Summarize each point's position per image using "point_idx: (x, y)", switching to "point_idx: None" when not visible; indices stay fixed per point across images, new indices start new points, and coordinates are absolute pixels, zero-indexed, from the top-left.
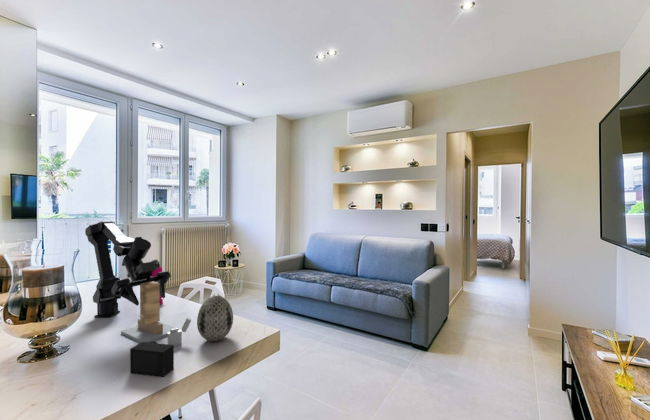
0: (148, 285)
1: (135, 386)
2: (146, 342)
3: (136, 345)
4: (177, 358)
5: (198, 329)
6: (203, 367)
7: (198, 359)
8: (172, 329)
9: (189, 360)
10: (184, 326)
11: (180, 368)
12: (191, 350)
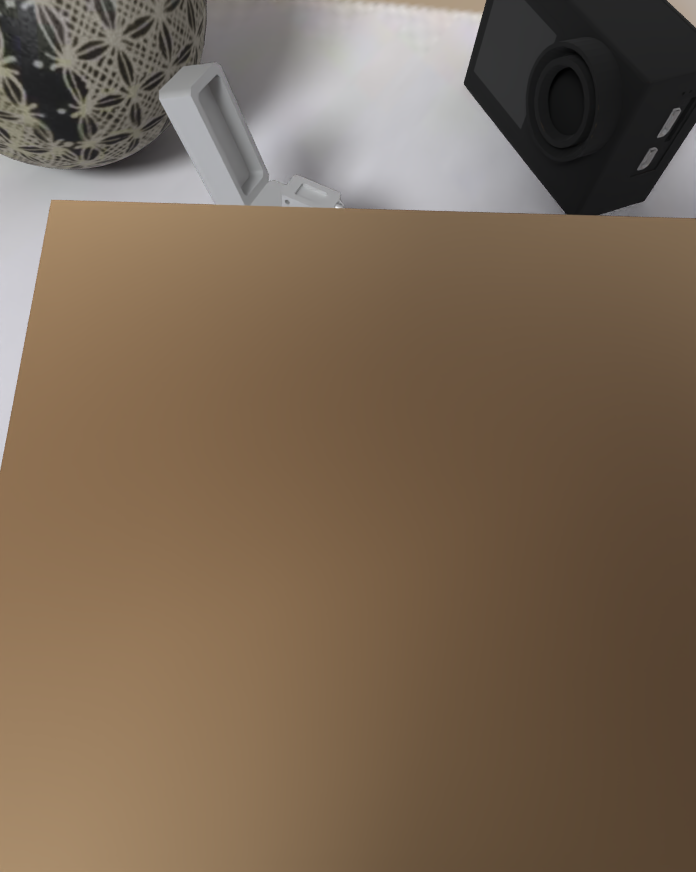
0: (683, 228)
1: None
2: (628, 56)
3: (693, 69)
4: (398, 141)
5: (196, 57)
6: (359, 3)
7: (328, 59)
8: (331, 198)
9: (365, 84)
10: (247, 132)
11: (438, 65)
12: (287, 150)
